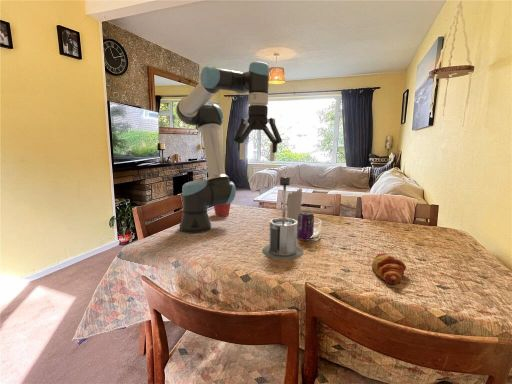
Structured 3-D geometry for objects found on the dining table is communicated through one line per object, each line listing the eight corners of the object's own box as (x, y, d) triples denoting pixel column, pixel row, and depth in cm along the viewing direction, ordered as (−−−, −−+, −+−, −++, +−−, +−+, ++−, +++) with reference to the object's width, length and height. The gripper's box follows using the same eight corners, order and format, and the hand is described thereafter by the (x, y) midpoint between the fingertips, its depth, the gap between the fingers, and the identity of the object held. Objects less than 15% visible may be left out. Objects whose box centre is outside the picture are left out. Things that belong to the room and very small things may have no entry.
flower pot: (210, 216, 161) (210, 200, 159) (216, 212, 171) (216, 196, 170) (228, 217, 159) (228, 201, 157) (233, 213, 170) (233, 197, 168)
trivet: (254, 254, 107) (254, 252, 107) (275, 242, 120) (275, 241, 120) (291, 265, 99) (291, 263, 98) (309, 251, 112) (310, 249, 111)
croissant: (373, 268, 105) (364, 249, 105) (400, 259, 102) (391, 239, 102) (383, 296, 85) (372, 273, 85) (417, 286, 82) (406, 262, 82)
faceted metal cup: (260, 253, 106) (261, 223, 104) (277, 244, 117) (278, 216, 115) (286, 260, 100) (287, 228, 98) (301, 250, 111) (302, 220, 109)
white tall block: (280, 220, 156) (281, 184, 152) (302, 224, 148) (304, 187, 144) (273, 223, 150) (274, 186, 147) (296, 227, 142) (298, 189, 139)
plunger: (269, 226, 107) (270, 177, 103) (279, 222, 113) (280, 175, 110) (287, 230, 102) (289, 179, 99) (297, 225, 109) (299, 177, 105)
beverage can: (312, 241, 123) (314, 215, 120) (296, 240, 124) (297, 214, 122) (312, 236, 129) (314, 211, 127) (297, 235, 131) (298, 210, 129)
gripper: (225, 105, 111) (225, 158, 115) (284, 103, 100) (281, 162, 104) (235, 107, 118) (235, 157, 122) (291, 105, 107) (289, 161, 111)
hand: (256, 160), depth 113 cm, fingers open, 13 cm apart
